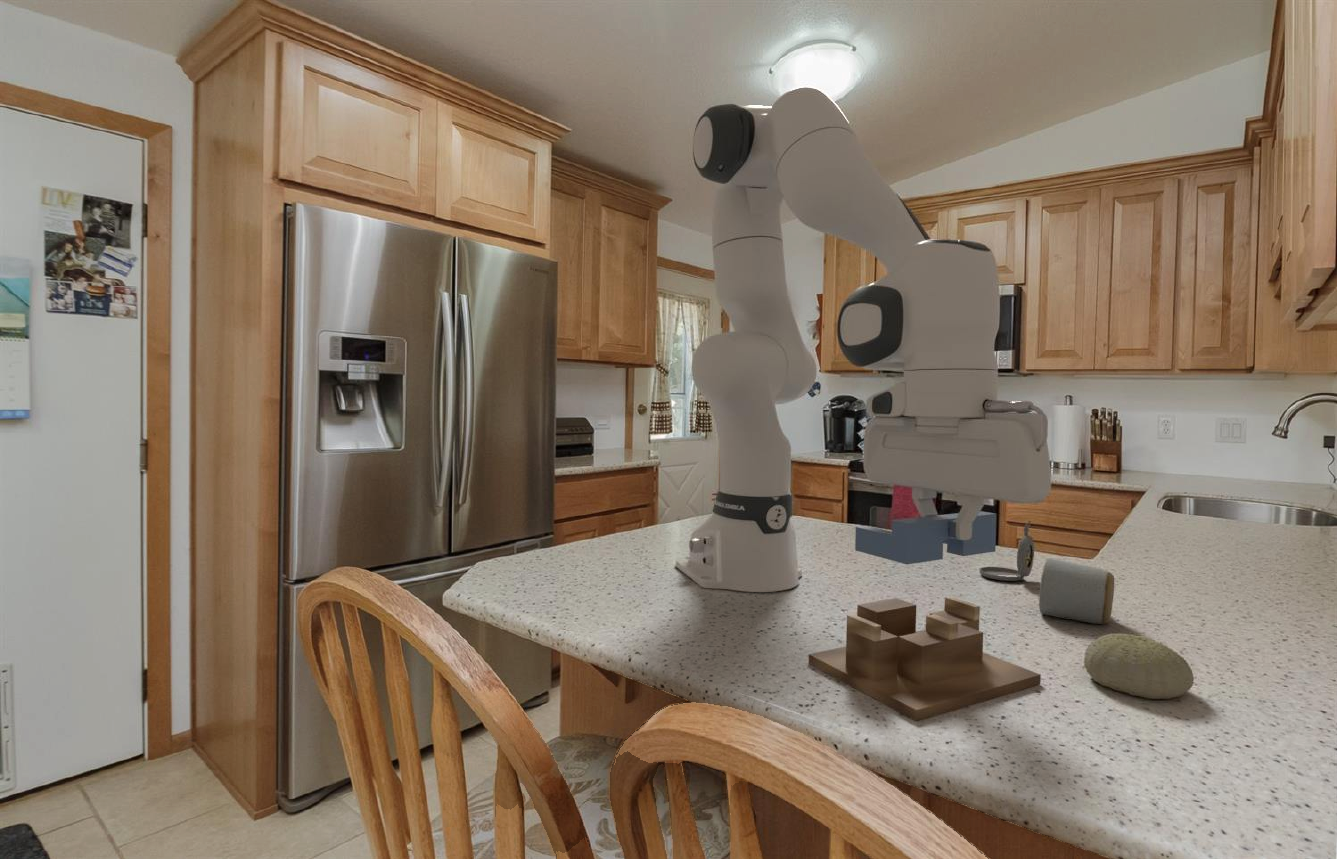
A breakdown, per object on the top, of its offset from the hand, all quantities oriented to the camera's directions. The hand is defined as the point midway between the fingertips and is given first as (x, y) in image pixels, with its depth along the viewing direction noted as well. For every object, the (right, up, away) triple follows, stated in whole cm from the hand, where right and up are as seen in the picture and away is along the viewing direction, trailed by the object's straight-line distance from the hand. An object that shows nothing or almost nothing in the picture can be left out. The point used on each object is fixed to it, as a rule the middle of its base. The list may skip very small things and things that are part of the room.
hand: (945, 535), depth 70 cm
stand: (-1, -15, +3) cm, 16 cm away
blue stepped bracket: (-1, -2, +2) cm, 3 cm away
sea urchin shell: (+20, -16, +1) cm, 26 cm away
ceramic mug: (+27, -15, +24) cm, 39 cm away
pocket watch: (+28, -14, +42) cm, 52 cm away
